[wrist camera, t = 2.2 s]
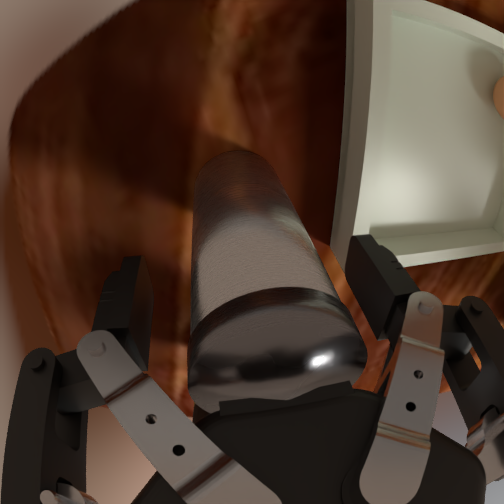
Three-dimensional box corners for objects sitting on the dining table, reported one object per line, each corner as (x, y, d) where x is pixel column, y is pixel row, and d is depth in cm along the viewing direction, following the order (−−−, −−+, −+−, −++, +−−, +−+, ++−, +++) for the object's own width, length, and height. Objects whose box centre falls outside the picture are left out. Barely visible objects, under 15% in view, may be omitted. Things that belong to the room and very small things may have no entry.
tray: (526, 55, 14) (554, 64, 11) (489, 230, 23) (509, 250, 20) (346, -7, 12) (372, -14, 10) (329, 246, 21) (345, 274, 19)
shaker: (281, 146, 17) (388, 307, 7) (279, 225, 20) (347, 406, 10) (188, 153, 16) (169, 335, 7) (197, 232, 19) (202, 428, 10)
